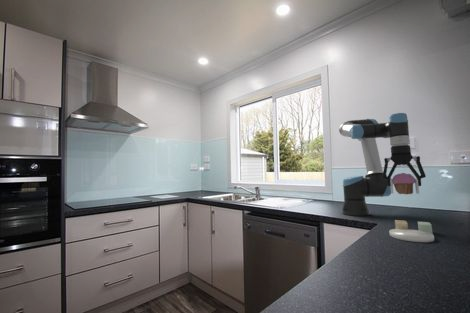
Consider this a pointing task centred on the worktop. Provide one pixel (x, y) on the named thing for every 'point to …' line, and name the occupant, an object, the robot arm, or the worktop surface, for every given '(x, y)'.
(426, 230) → the sage block
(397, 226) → the beech brick
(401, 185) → the cupcake
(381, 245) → the worktop surface
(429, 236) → the plate
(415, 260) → the worktop surface
